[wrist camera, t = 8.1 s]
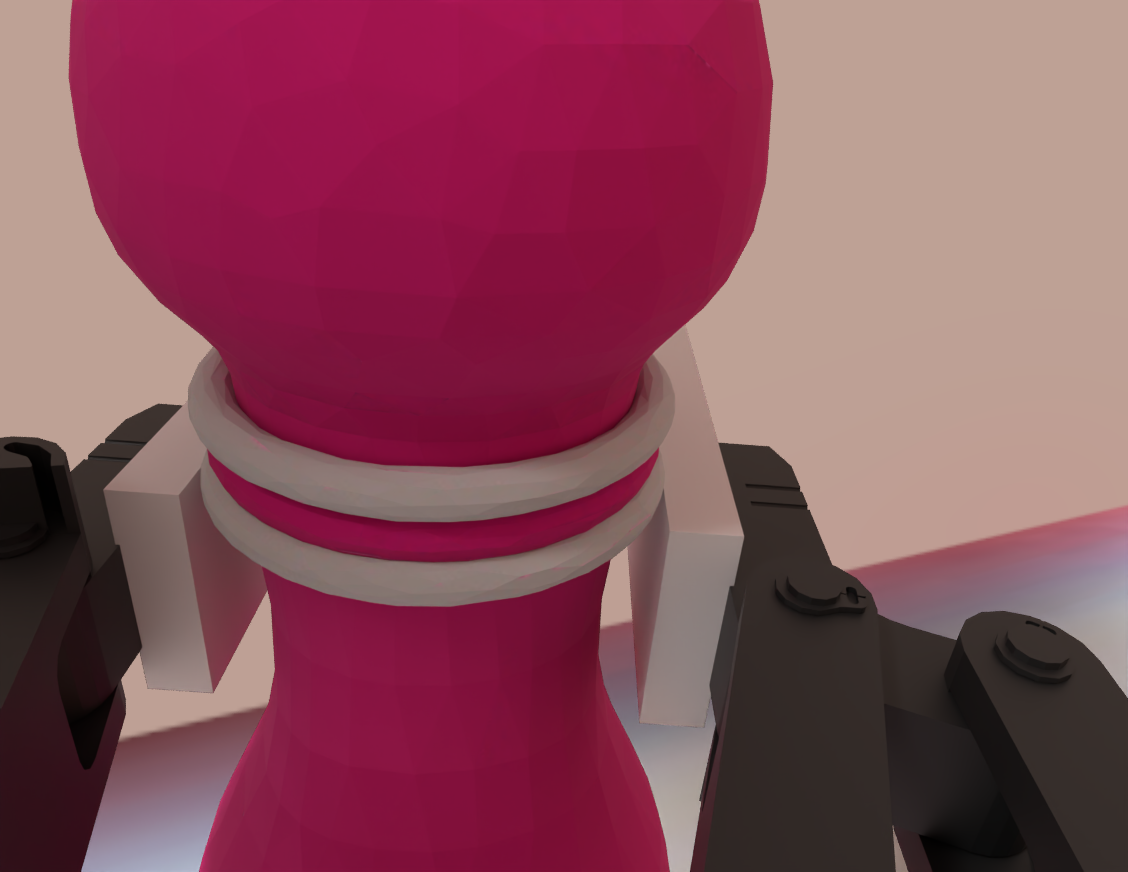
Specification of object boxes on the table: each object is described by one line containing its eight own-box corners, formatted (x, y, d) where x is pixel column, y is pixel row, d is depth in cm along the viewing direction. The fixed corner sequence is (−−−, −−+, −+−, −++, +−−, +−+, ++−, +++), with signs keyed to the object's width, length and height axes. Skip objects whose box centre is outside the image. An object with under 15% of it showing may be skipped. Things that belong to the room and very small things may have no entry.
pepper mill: (603, 849, 19) (768, -295, 10) (681, 1283, 13) (1392, -806, 3) (271, 870, 18) (81, -384, 8) (176, 1352, 12) (-954, -1379, 2)
